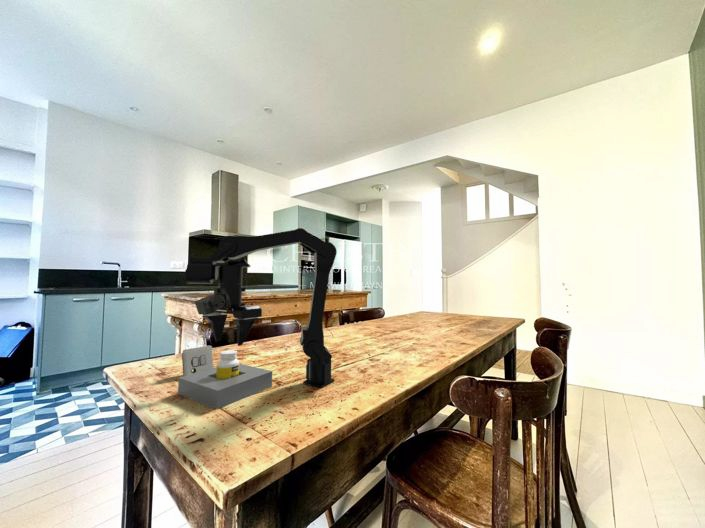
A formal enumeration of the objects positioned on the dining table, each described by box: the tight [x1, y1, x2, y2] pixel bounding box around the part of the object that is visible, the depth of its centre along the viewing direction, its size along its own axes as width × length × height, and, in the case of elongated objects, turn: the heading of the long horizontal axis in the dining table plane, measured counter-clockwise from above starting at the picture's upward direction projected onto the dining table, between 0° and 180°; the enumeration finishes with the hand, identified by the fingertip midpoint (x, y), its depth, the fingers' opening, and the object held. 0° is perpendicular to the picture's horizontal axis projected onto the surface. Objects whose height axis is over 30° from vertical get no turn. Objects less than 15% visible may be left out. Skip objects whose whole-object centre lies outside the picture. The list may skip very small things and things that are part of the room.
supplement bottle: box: [216, 349, 240, 380], centre depth 73 cm, size 5×5×10 cm
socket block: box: [177, 363, 273, 410], centre depth 73 cm, size 16×16×4 cm
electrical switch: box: [181, 345, 215, 377], centre depth 86 cm, size 8×5×8 cm, turn 141°
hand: (228, 343), depth 74 cm, fingers open, 9 cm apart
